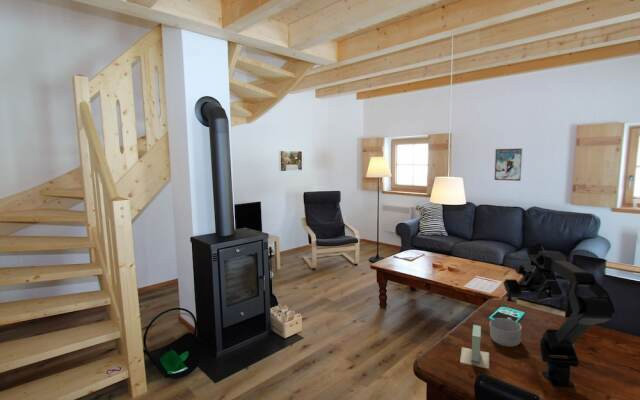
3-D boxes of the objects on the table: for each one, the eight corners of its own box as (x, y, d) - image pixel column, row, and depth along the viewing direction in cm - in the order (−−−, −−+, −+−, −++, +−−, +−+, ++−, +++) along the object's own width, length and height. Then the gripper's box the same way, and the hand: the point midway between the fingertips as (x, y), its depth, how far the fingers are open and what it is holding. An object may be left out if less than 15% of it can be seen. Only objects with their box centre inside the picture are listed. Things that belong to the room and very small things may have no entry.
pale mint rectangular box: (479, 352, 124) (481, 326, 122) (479, 364, 117) (480, 337, 115) (472, 350, 125) (473, 324, 123) (471, 362, 118) (472, 335, 116)
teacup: (513, 355, 124) (514, 334, 123) (483, 342, 132) (484, 323, 131) (528, 341, 133) (529, 321, 132) (499, 330, 141) (500, 312, 140)
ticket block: (488, 356, 124) (489, 352, 123) (488, 372, 115) (489, 368, 114) (461, 350, 127) (462, 347, 127) (459, 366, 119) (460, 362, 118)
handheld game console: (525, 315, 154) (525, 312, 154) (513, 328, 143) (513, 325, 143) (501, 308, 161) (501, 305, 161) (488, 320, 151) (488, 317, 150)
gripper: (557, 258, 127) (540, 282, 138) (505, 258, 128) (492, 281, 139) (571, 284, 119) (553, 307, 130) (516, 283, 120) (502, 306, 131)
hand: (524, 299), depth 133 cm, fingers open, 9 cm apart
